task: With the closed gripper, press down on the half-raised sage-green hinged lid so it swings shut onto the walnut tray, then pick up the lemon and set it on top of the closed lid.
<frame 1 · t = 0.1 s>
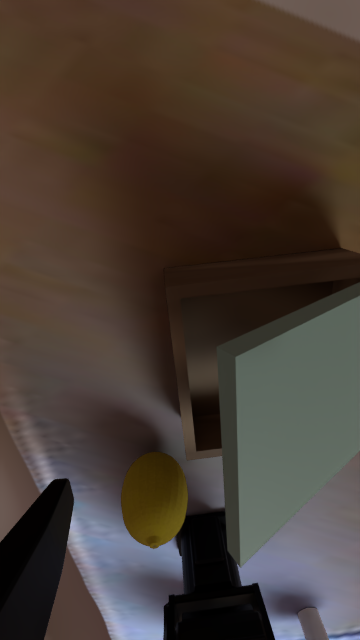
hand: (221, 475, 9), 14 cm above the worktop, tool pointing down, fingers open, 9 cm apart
lemon: (155, 452, 28), on the worktop
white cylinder: (307, 611, 43), on the worktop
lid: (316, 411, 16), point 8 cm above the worktop, hinge at 30.0°
tray: (252, 343, 24), on the worktop
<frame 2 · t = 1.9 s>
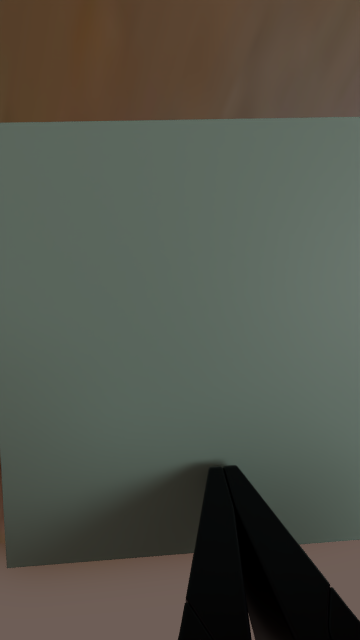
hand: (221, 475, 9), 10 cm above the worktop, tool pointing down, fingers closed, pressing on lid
lid: (213, 336, 9), point 8 cm above the worktop, hinge at 23.1°, touching gripper
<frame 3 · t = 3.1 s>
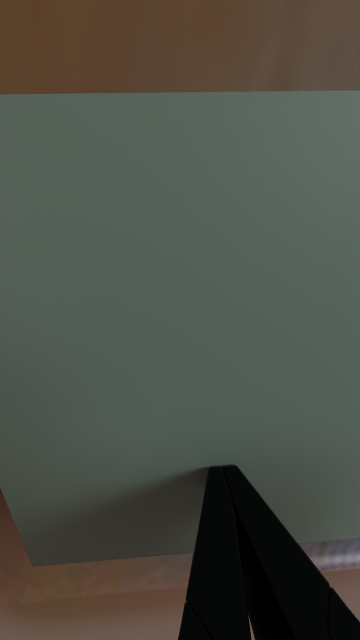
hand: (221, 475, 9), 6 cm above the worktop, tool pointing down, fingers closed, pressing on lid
lid: (226, 390, 8), point 5 cm above the worktop, hinge at 0.1°, touching gripper
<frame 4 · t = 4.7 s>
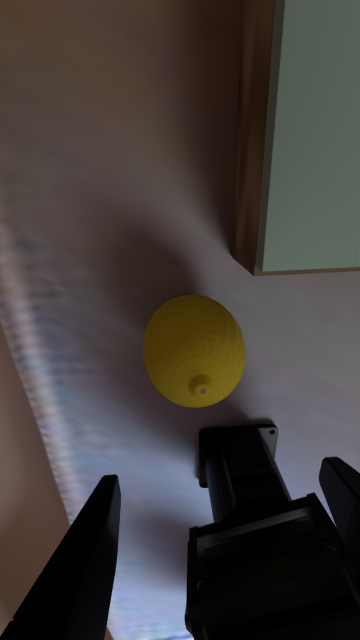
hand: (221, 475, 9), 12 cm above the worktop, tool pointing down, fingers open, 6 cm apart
lemon: (186, 317, 20), on the worktop
tray: (355, 123, 16), on the worktop
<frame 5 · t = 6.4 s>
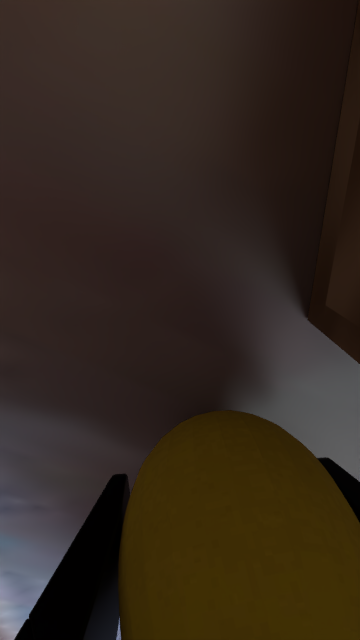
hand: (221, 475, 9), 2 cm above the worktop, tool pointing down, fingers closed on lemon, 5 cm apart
lemon: (209, 421, 11), on the worktop, touching gripper
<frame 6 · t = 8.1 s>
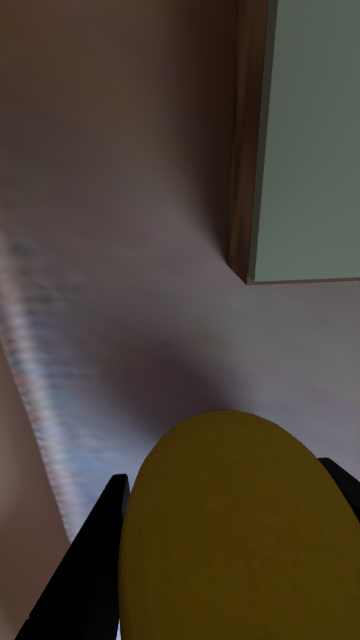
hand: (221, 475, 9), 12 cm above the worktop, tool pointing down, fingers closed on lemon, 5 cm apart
lemon: (209, 420, 11), point 10 cm above the worktop, touching gripper
tray: (349, 133, 16), on the worktop
when the fingers open (9 cm above the worktop, at t = 9.9 s): lemon drops 1 cm, resting on lid.
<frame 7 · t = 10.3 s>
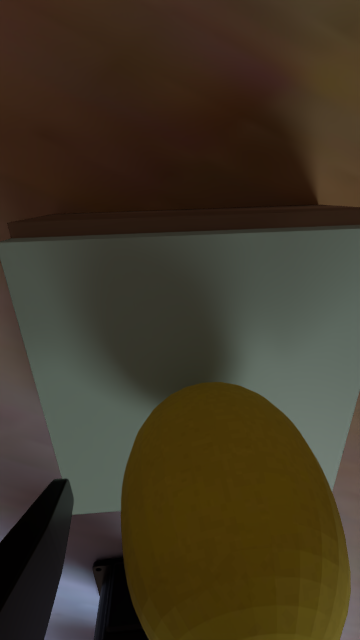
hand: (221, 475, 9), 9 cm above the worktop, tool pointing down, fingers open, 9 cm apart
lemon: (201, 397, 12), point 5 cm above the worktop, touching lid
lid: (203, 391, 12), point 5 cm above the worktop, hinge at -0.4°, touching lemon
tray: (191, 337, 17), on the worktop
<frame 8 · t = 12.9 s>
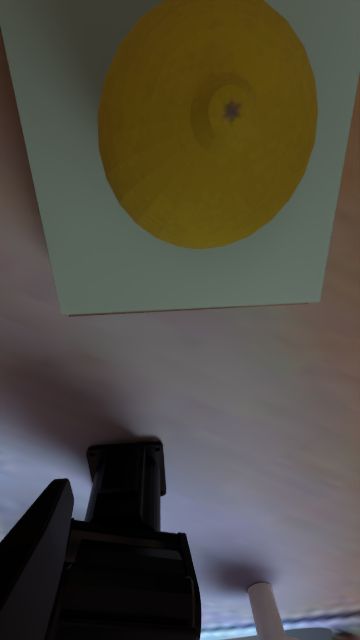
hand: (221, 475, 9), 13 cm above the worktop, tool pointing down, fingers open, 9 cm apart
lemon: (188, 163, 12), point 5 cm above the worktop, touching lid
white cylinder: (259, 587, 36), on the worktop
lid: (190, 162, 12), point 5 cm above the worktop, hinge at -0.4°, touching lemon
tray: (181, 171, 17), on the worktop
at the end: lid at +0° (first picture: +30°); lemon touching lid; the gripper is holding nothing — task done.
